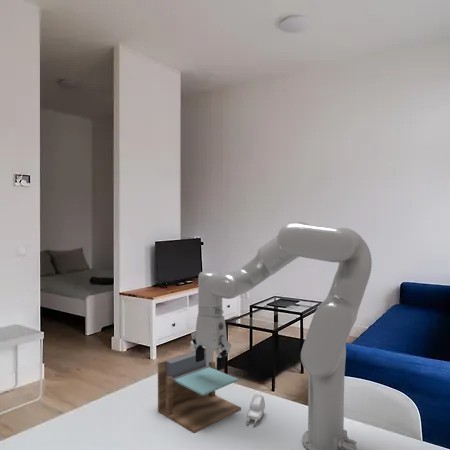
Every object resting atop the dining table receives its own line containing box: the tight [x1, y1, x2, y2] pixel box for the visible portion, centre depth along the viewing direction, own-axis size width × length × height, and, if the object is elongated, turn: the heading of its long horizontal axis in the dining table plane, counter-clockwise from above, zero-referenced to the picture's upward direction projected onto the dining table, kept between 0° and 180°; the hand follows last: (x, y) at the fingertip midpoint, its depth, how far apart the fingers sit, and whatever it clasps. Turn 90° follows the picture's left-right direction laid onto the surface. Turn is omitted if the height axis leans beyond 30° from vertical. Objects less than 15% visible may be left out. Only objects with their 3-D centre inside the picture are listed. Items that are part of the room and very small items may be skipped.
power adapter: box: [246, 393, 266, 427], centre depth 124 cm, size 10×4×5 cm, turn 157°
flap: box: [166, 352, 239, 395], centre depth 129 cm, size 18×16×6 cm
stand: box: [157, 348, 242, 434], centre depth 130 cm, size 18×20×16 cm
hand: (210, 365), depth 126 cm, fingers open, 9 cm apart
